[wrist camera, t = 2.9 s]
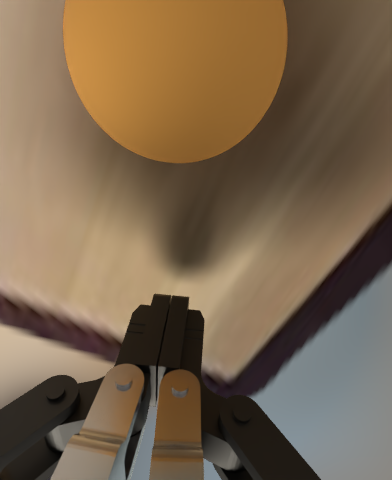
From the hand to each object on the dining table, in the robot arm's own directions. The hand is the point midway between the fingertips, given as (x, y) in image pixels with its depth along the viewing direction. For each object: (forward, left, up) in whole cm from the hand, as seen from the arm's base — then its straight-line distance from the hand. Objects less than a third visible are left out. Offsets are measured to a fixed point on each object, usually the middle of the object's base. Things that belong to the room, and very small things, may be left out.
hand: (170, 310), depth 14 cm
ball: (-10, 0, +1) cm, 10 cm away
